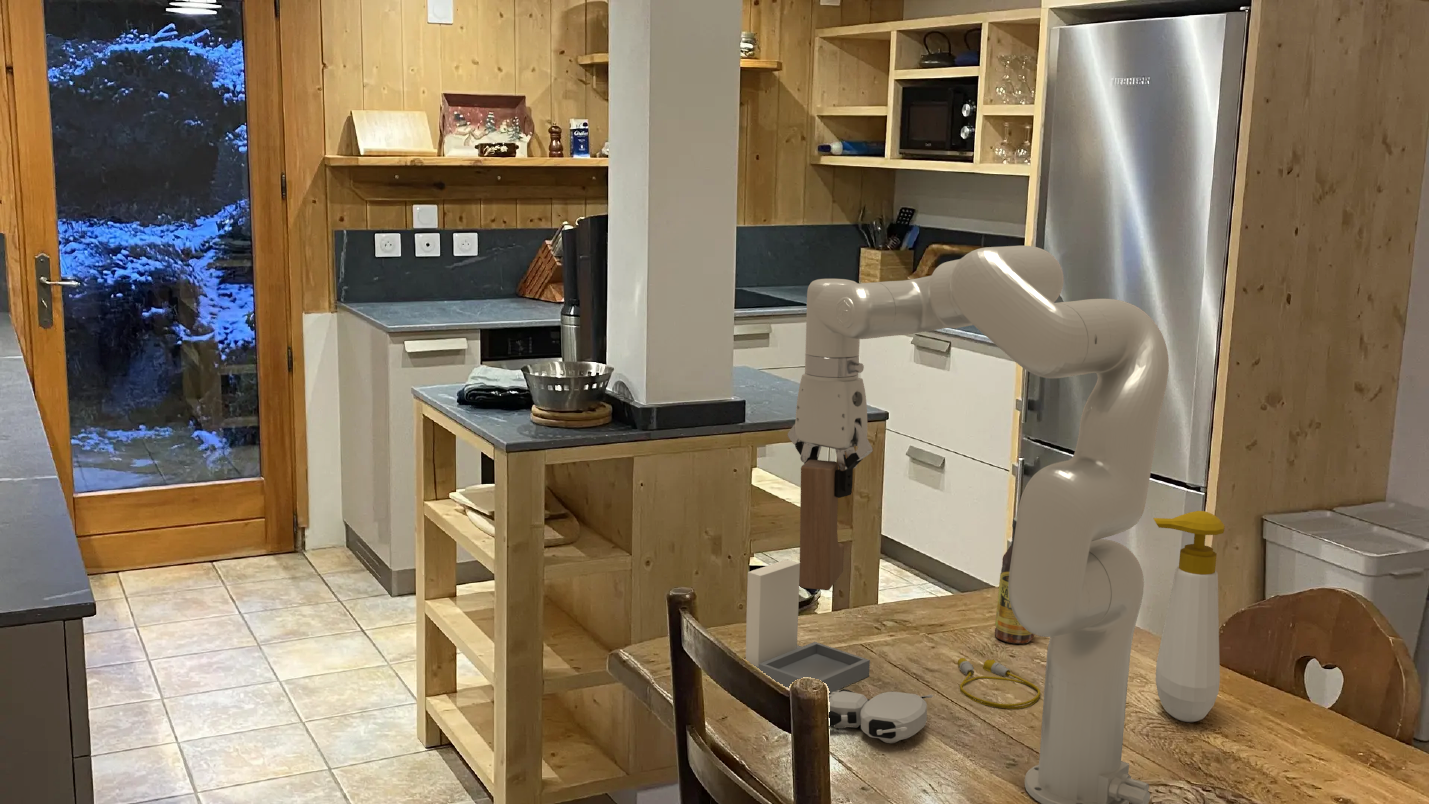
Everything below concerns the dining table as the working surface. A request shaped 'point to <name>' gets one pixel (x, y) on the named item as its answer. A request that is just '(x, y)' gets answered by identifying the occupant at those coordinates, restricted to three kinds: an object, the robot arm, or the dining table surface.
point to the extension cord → (996, 669)
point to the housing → (790, 633)
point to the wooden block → (819, 526)
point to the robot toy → (879, 713)
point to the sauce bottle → (1008, 605)
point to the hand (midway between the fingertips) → (827, 491)
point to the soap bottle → (1191, 624)
